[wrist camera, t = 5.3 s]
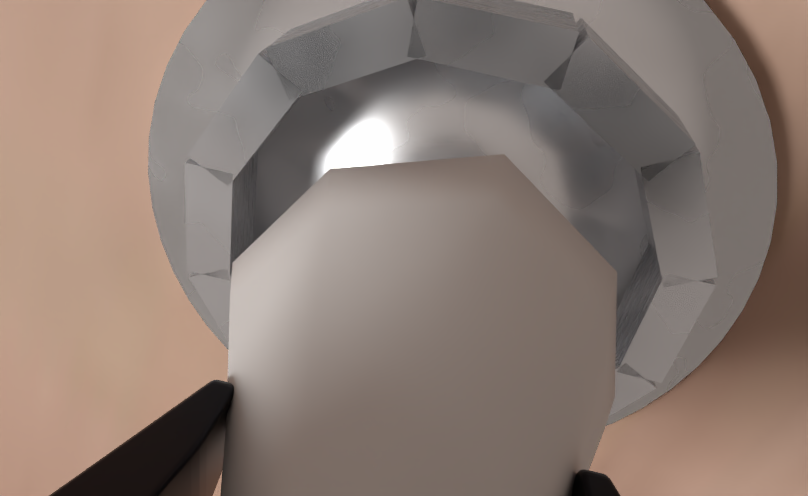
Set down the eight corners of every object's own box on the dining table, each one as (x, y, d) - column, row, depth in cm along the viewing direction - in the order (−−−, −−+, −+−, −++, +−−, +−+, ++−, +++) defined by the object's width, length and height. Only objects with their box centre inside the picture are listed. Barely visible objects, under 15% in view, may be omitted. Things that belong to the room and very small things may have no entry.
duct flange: (627, 487, 18) (637, 547, 17) (165, 375, 19) (133, 423, 17) (923, -17, 11) (994, 4, 9) (141, -183, 11) (79, -189, 10)
